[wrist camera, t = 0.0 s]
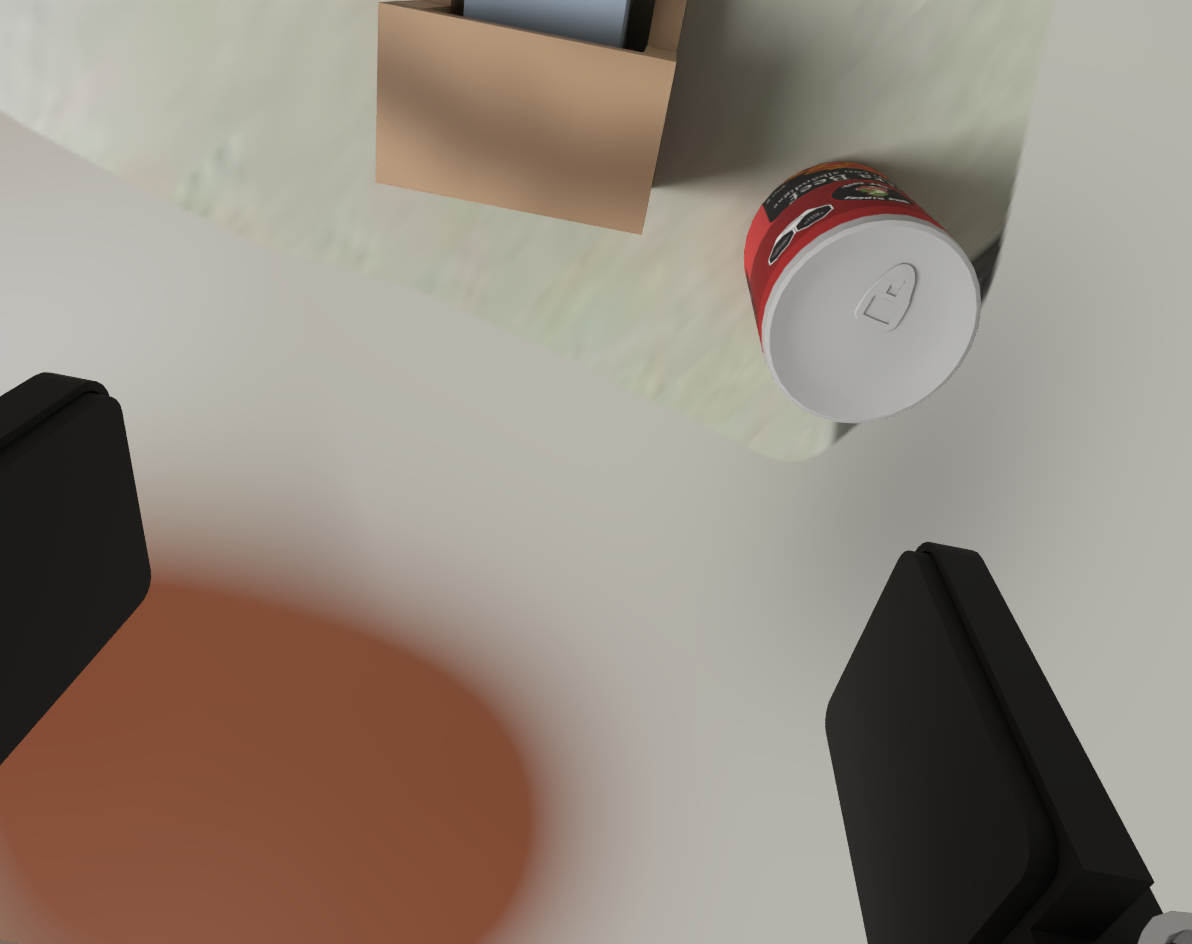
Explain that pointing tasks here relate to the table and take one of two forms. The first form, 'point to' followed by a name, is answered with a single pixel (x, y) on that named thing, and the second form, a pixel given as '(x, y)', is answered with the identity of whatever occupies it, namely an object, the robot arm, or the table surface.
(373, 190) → the table surface
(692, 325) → the table surface
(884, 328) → the canned food
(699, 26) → the table surface
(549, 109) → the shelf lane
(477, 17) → the knob-handled block
